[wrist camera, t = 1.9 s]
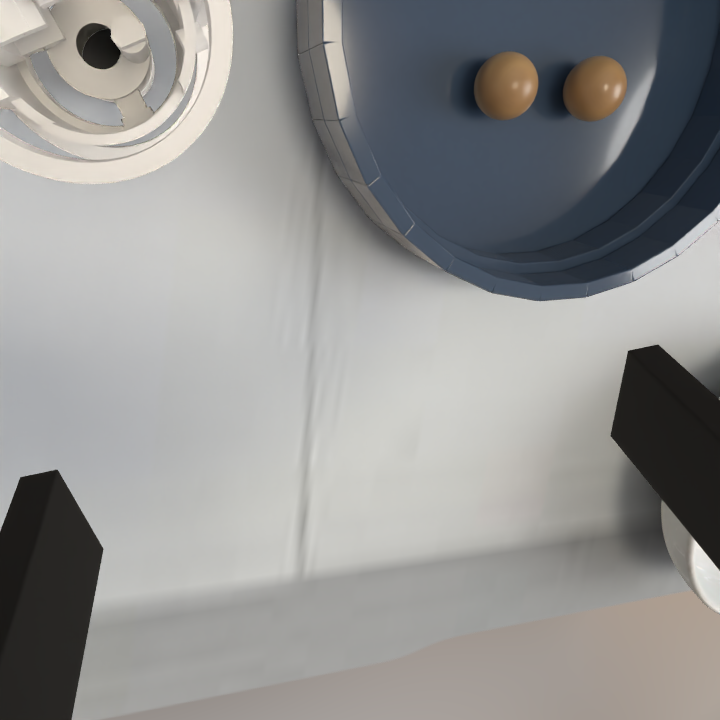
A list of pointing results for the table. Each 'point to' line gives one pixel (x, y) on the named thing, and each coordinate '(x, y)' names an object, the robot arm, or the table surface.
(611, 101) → the brown egg
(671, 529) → the serving bowl
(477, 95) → the brown egg
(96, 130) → the white cylindrical mechanical housing
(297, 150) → the table surface
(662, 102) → the round tray
